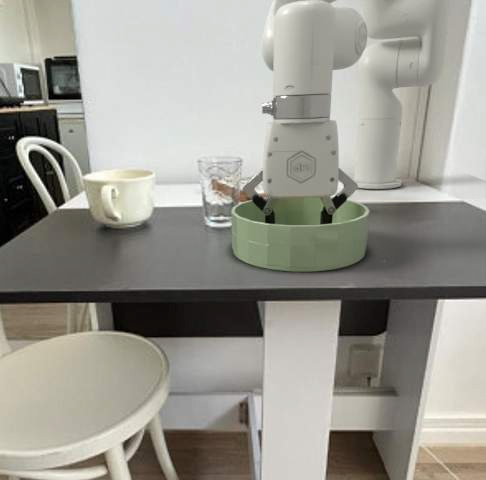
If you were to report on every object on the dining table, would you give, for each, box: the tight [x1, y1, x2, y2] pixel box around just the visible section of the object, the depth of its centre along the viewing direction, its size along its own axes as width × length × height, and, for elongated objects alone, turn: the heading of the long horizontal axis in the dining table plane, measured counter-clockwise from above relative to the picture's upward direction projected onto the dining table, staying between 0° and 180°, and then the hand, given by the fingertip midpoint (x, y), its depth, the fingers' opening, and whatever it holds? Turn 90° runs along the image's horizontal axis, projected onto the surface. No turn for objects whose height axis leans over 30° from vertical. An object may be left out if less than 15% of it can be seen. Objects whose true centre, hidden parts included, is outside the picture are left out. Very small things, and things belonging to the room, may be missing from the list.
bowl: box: [230, 196, 371, 273], centre depth 63 cm, size 19×19×6 cm
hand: (297, 238), depth 65 cm, fingers closed on popsicle, 6 cm apart
